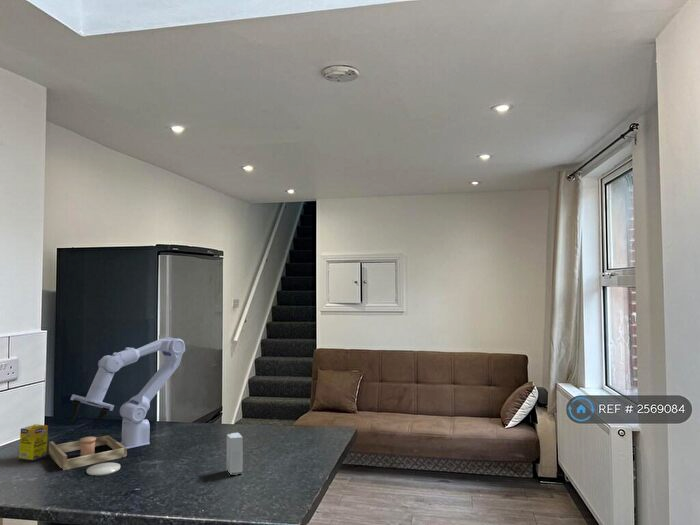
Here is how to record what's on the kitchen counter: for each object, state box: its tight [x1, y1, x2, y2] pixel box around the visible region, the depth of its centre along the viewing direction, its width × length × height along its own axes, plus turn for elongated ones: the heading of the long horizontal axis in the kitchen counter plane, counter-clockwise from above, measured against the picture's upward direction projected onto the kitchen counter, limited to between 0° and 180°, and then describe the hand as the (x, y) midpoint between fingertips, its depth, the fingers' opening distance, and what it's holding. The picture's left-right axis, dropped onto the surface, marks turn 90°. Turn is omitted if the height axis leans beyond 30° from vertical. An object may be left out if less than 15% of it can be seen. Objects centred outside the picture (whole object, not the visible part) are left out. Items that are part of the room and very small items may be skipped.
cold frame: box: [48, 434, 128, 471], centre depth 174 cm, size 20×20×4 cm
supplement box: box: [18, 423, 49, 463], centre depth 170 cm, size 6×6×11 cm
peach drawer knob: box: [79, 436, 97, 457], centre depth 174 cm, size 5×5×6 cm
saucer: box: [86, 462, 121, 477], centre depth 161 cm, size 10×10×1 cm
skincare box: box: [226, 432, 244, 474], centre depth 161 cm, size 6×4×12 cm
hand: (82, 425), depth 173 cm, fingers open, 7 cm apart
